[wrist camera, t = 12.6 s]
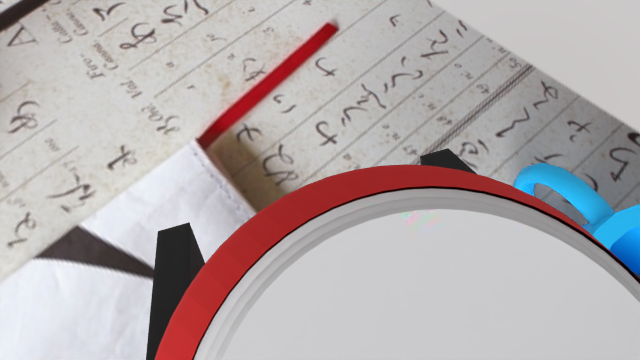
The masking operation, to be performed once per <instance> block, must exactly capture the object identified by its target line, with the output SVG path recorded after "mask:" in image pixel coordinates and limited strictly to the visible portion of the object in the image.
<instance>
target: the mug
mask: <svg viewBox="0 0 640 360" xmlns="http://www.w3.org/2000/svg"><path fill="white" fill-rule="evenodd" d="M536 183H540V184H543V185H546V186H549V187H550V188H552V189H553V190H555V191H556V192H558V193H559V194H561V195H562V196H564V197H565V198H566V199H567V200H568V201H569V202H570V203H571V204H572V205H573V206H574V207H575V208H577V209H578V210H579V211H580V212H581V213H582V214H583V215H584V216H585V218H586V219H587V220H588V221H589V223H588V224H585V225H583V226H581V227H583V228H584V229H585V230H587V231H588V232H589V233H590V234H591V235H592V236H594V237H595V238H596V239H597V240H598V241H599V242H600V243H602V244H603V245H604V246H605V247H606V248H607V249H609V250H610V251H611V252H612V253H613V254H614V255H615V256H616V257H617V258H618V259H620V260H621V261H622V262H623V263H624V264H625V265H626V266H627V267H628V268H630V270H631V271H632V272H635V273H636V274H637V275H638V276H640V204H638V205H635V206H633V207H630V208H627V209H625V210H622V211H619V212H617V213H615V211H614V210H613V209H612V208H611V207H610V205H609V204H608V203H607V202H606V201H605V200H604V199H603V198H602V197H601V196H600V195H599V194H598V193H597V192H595V191H594V190H593V189H592V188H591V187H590V186H589V185H588V184H587V183H585V182H584V181H583V180H581V179H580V178H578V177H576V176H575V175H573V174H572V173H570V172H568V171H567V170H565V169H564V168H561V167H557V166H554V165H550V164H546V163H538V164H535V165H531V166H527V167H525V168H523V169H522V170H521V172H520V173H519V175H518V176H517V178H516V180H515V181H514V184H513V187H515V188H517V189H519V190H521V191H523V192H526V193H528V194H530V195H532V196H534V190H535V184H536Z"/></svg>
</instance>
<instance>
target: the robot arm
mask: <svg viewBox="0 0 640 360" xmlns="http://www.w3.org/2000/svg"><path fill="white" fill-rule="evenodd" d="M420 159H421V165H425V166H436V167H443V168H450V169H456V170H462V171H466V172H469V173H473V174H476V173H475V172H474V171H473V170H472V169H471V168H470V167H468V166H467V165H466V164H465V163H464V162H463V161H462V160H461V159H460V158H458V157H457V156H456V155H455V154H454V153H453V152H452V151H451V150H449V149H448V148H447V149H444V150H440V151H437V152H433V153H430V154H426V155H423V156H420ZM204 265H205V262H204V259H203V257H202V254H201V252H200V249H199V247H198V244H197V241H196V239H195V236H194V234H193V231H192V228H191V226H190V223H186V224H182V225H179V226H175V227H172V228H168V229H165V230H161V231H158V237H157V247H156V258H155V269H154V280H153V290H152V301H151V312H150V323H149V333H148V344H147V355H146V360H155V357H156V354H157V351H158V348H159V345H160V342H161V340H162V338H163V335H164V333H165V331H166V328H167V326H168V324H169V322H170V319H171V317H172V315H173V313H174V312H175V310H176V308H177V306H178V304H179V302H180V301H181V299H182V297H183V295H184V293H185V292H186V290H187V289H188V287H189V286H190V284H191V283H192V281H193V280H194V278H195V277H196V276H197V274H198V273H199V271H200V270H201V268H202V267H203V266H204ZM629 269H630V268H629ZM633 273H634V274H635V275H636V276H637V277H638V278H639V279H640V276H638V275H637V274H636V273H635V272H633Z"/></svg>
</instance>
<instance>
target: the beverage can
mask: <svg viewBox="0 0 640 360" xmlns="http://www.w3.org/2000/svg"><path fill="white" fill-rule="evenodd" d="M155 360H640V279H639V278H638V277H637V276H636V275H635V274H634V273H633V272H632V271H631V270H630V269H629V268H628V267H627V266H626V265H625V264H624V263H623V262H622V261H621V260H620V259H618V258H617V257H616V256H615V255H614V254H613V253H612V252H611V251H610V250H609V249H607V248H606V247H605V246H604V245H603V244H602V243H600V242H599V241H598V240H597V239H596V238H595V237H594V236H592V235H591V234H590V233H589V232H588V231H587V230H585V229H584V228H583V227H581V226H580V225H578V224H577V223H576V222H574V221H573V220H572V219H570V218H569V217H567V216H566V215H565V214H563V213H562V212H560V211H558V210H557V209H555V208H553V207H551V206H550V205H548V204H546V203H545V202H543V201H541V200H540V199H538V198H536V197H534V196H532V195H530V194H528V193H526V192H523V191H521V190H519V189H517V188H515V187H513V186H511V185H508V184H505V183H502V182H499V181H497V180H494V179H491V178H488V177H485V176H481V175H477V174H473V173H469V172H466V171H462V170H456V169H450V168H443V167H436V166H425V165H388V166H377V167H371V168H364V169H357V170H353V171H349V172H345V173H341V174H337V175H333V176H330V177H327V178H324V179H322V180H319V181H316V182H314V183H311V184H308V185H306V186H304V187H302V188H300V189H298V190H296V191H294V192H291V193H289V194H287V195H285V196H283V197H282V198H280V199H279V200H277V201H275V202H274V203H272V204H271V205H269V206H267V207H266V208H264V209H263V210H261V211H260V212H259V213H257V214H256V215H255V216H253V217H252V218H251V219H250V220H248V221H247V222H246V223H245V224H243V225H242V226H241V227H239V228H238V229H237V230H236V231H235V232H234V233H233V234H232V235H231V236H230V237H229V238H228V239H227V240H226V241H225V242H224V243H223V244H222V245H221V246H220V247H219V248H218V249H217V250H216V252H215V253H214V254H213V255H212V256H211V258H210V259H209V260H208V261H207V262H206V263H205V265H204V266H203V267H202V268H201V270H200V271H199V273H198V274H197V276H196V277H195V278H194V280H193V281H192V283H191V284H190V286H189V287H188V289H187V290H186V292H185V293H184V295H183V297H182V299H181V301H180V302H179V304H178V306H177V308H176V310H175V312H174V313H173V315H172V317H171V319H170V322H169V324H168V326H167V328H166V331H165V333H164V335H163V338H162V340H161V342H160V345H159V348H158V351H157V354H156V357H155Z"/></svg>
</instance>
